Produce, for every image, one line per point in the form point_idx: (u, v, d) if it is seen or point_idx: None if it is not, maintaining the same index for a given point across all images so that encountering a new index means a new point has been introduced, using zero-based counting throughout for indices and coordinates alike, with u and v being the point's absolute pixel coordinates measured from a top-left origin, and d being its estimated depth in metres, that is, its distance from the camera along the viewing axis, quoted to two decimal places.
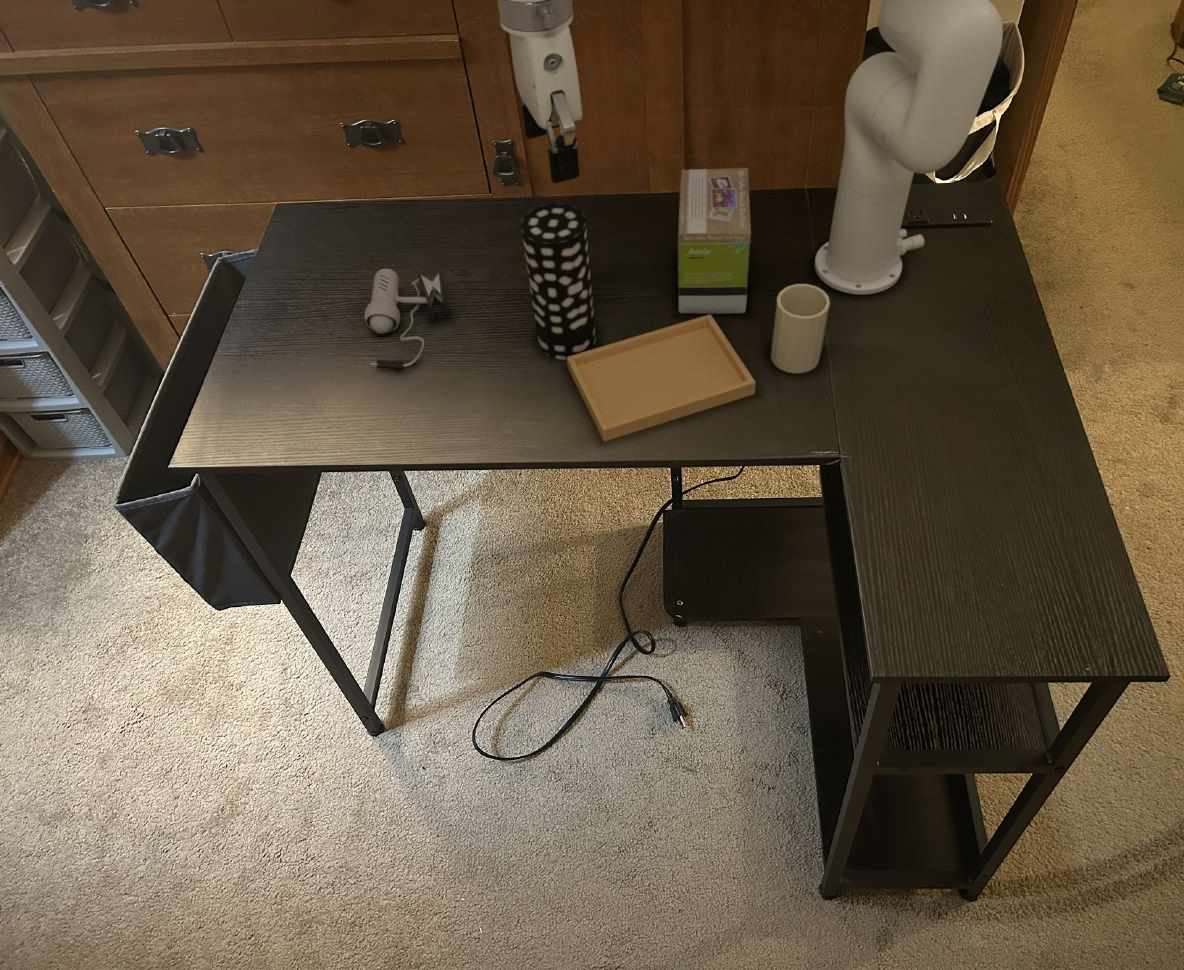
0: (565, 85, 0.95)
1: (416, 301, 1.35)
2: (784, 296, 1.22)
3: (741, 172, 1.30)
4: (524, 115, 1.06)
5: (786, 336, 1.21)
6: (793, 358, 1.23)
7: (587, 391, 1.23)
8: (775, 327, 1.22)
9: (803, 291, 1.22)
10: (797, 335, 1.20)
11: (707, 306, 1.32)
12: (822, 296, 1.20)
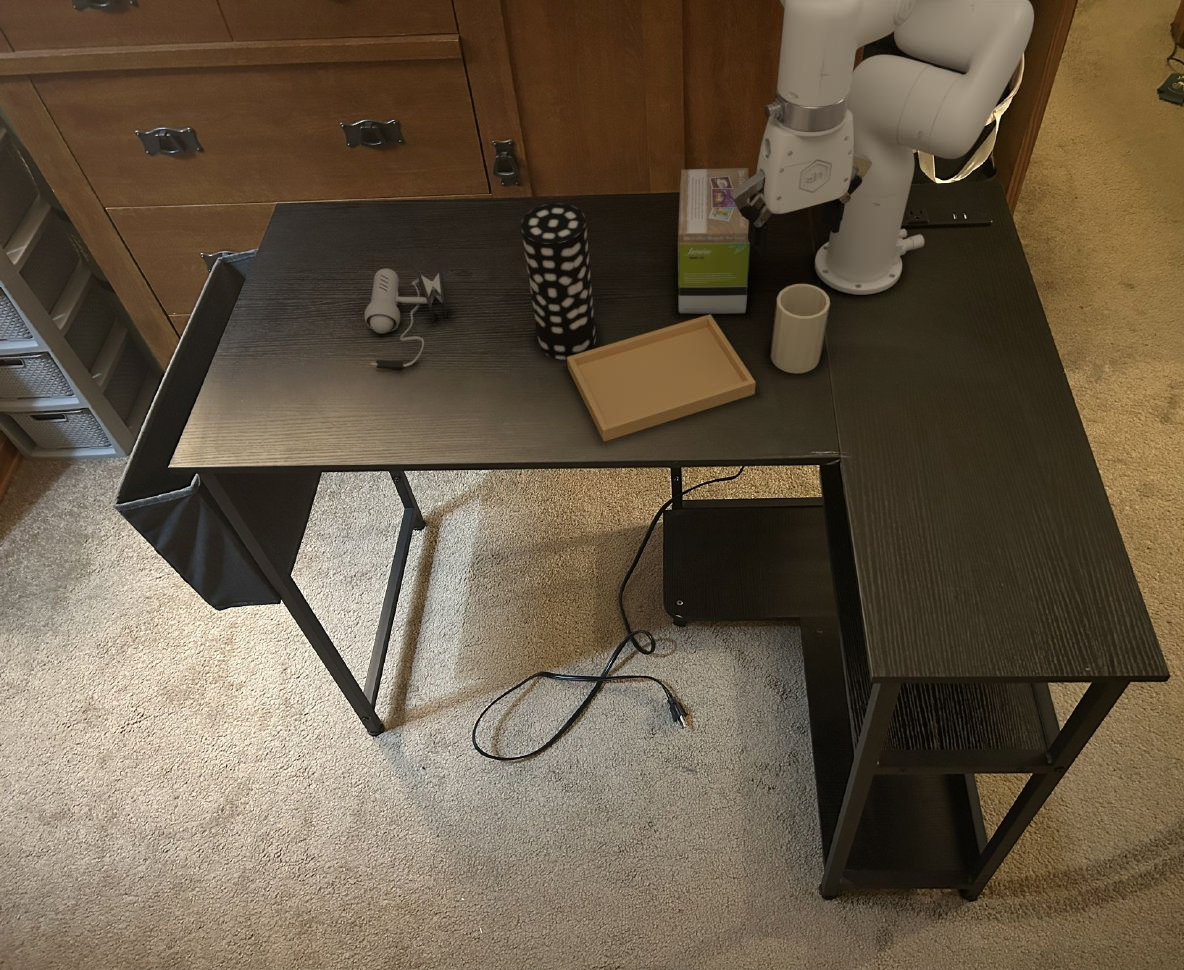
0: (767, 172, 1.02)
1: (416, 301, 1.35)
2: (784, 296, 1.22)
3: (741, 172, 1.30)
4: None
5: (786, 336, 1.21)
6: (793, 358, 1.23)
7: (587, 391, 1.23)
8: (775, 327, 1.22)
9: (803, 291, 1.22)
10: (797, 335, 1.20)
11: (707, 306, 1.32)
12: (822, 296, 1.20)
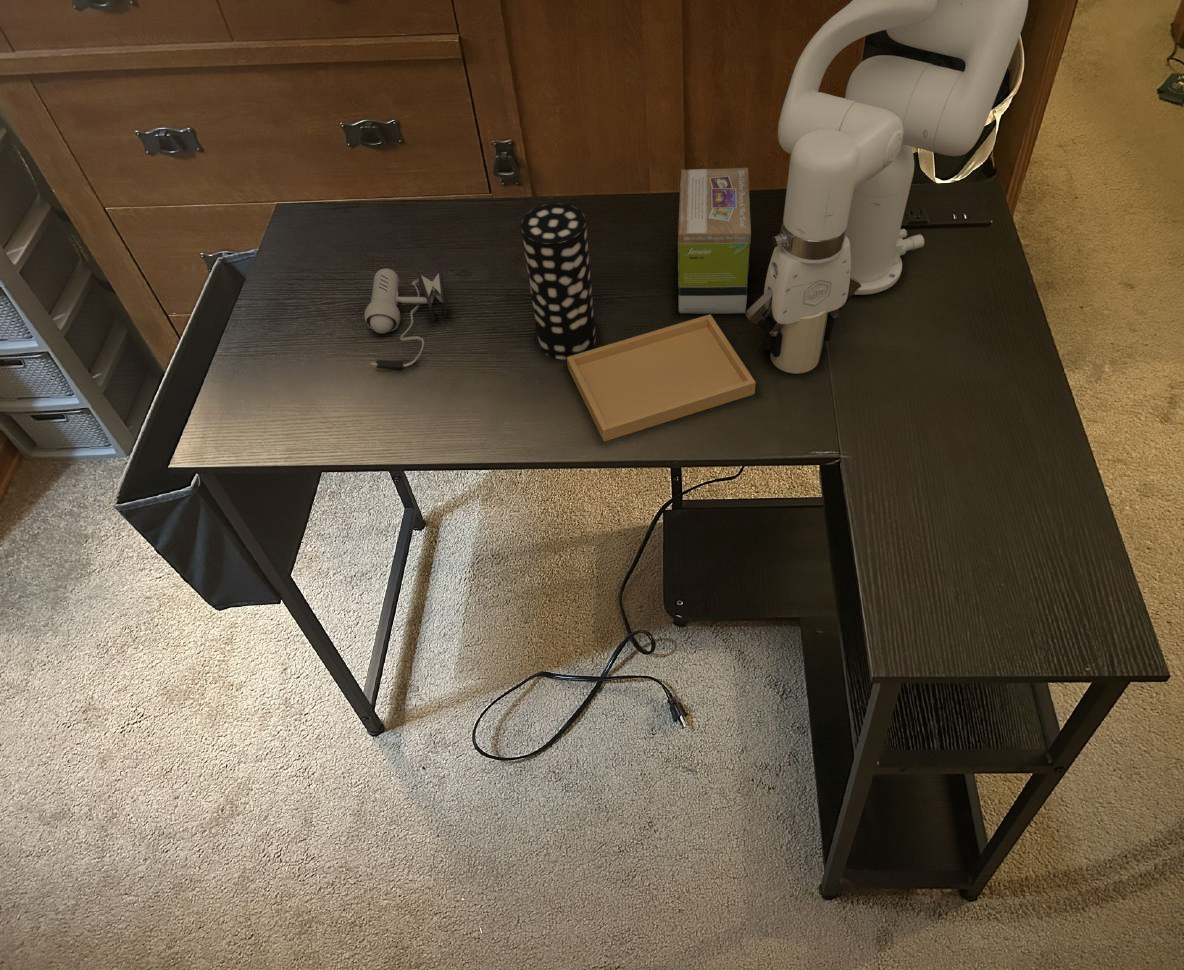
0: (774, 290, 1.15)
1: (416, 301, 1.35)
2: None
3: (741, 172, 1.30)
4: None
5: (785, 336, 1.21)
6: (793, 358, 1.23)
7: (587, 391, 1.23)
8: None
9: None
10: (797, 335, 1.20)
11: (707, 306, 1.32)
12: None
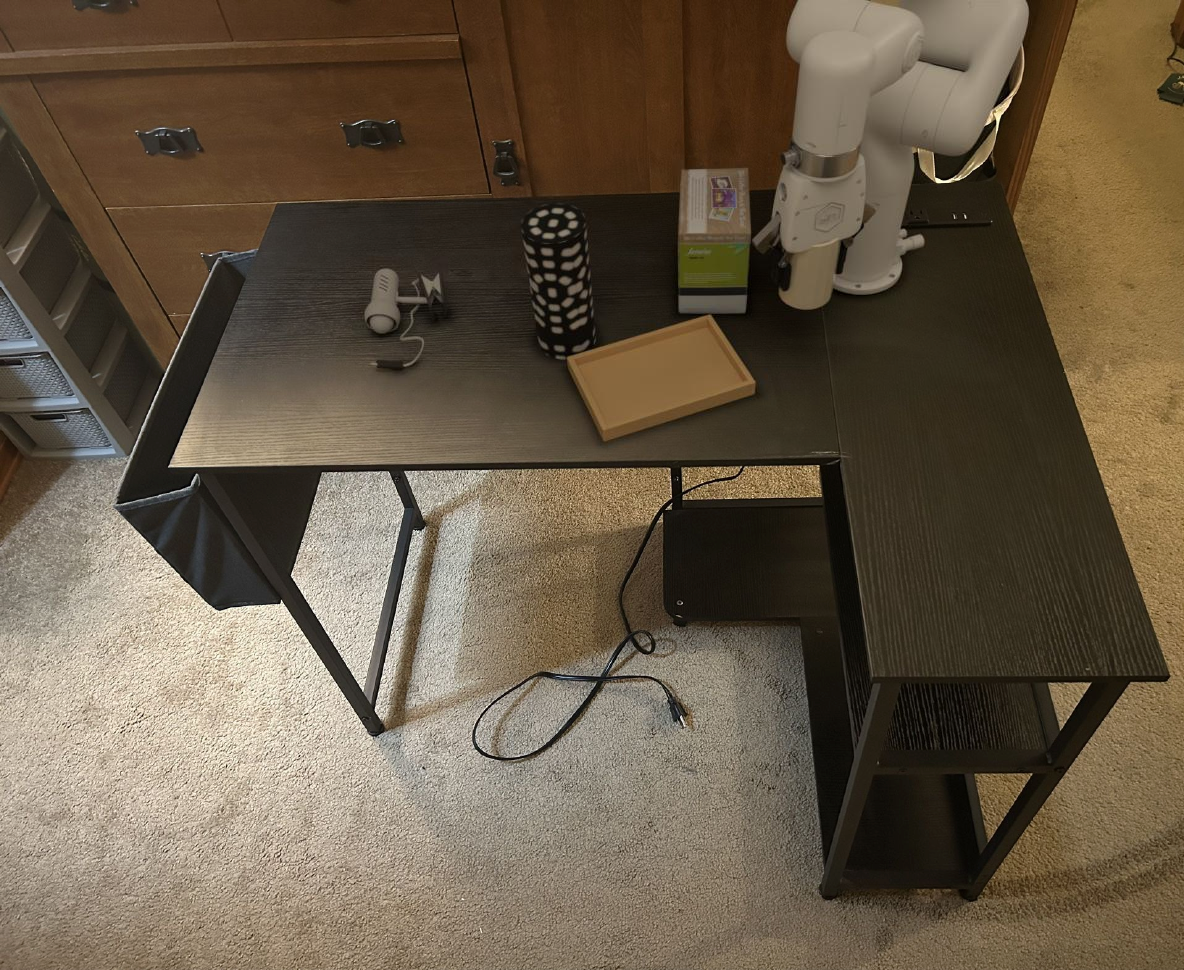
0: (783, 215, 1.06)
1: (416, 301, 1.35)
2: None
3: (741, 172, 1.30)
4: None
5: (795, 267, 1.12)
6: (803, 292, 1.15)
7: (587, 391, 1.23)
8: None
9: None
10: (808, 265, 1.11)
11: (707, 306, 1.32)
12: None
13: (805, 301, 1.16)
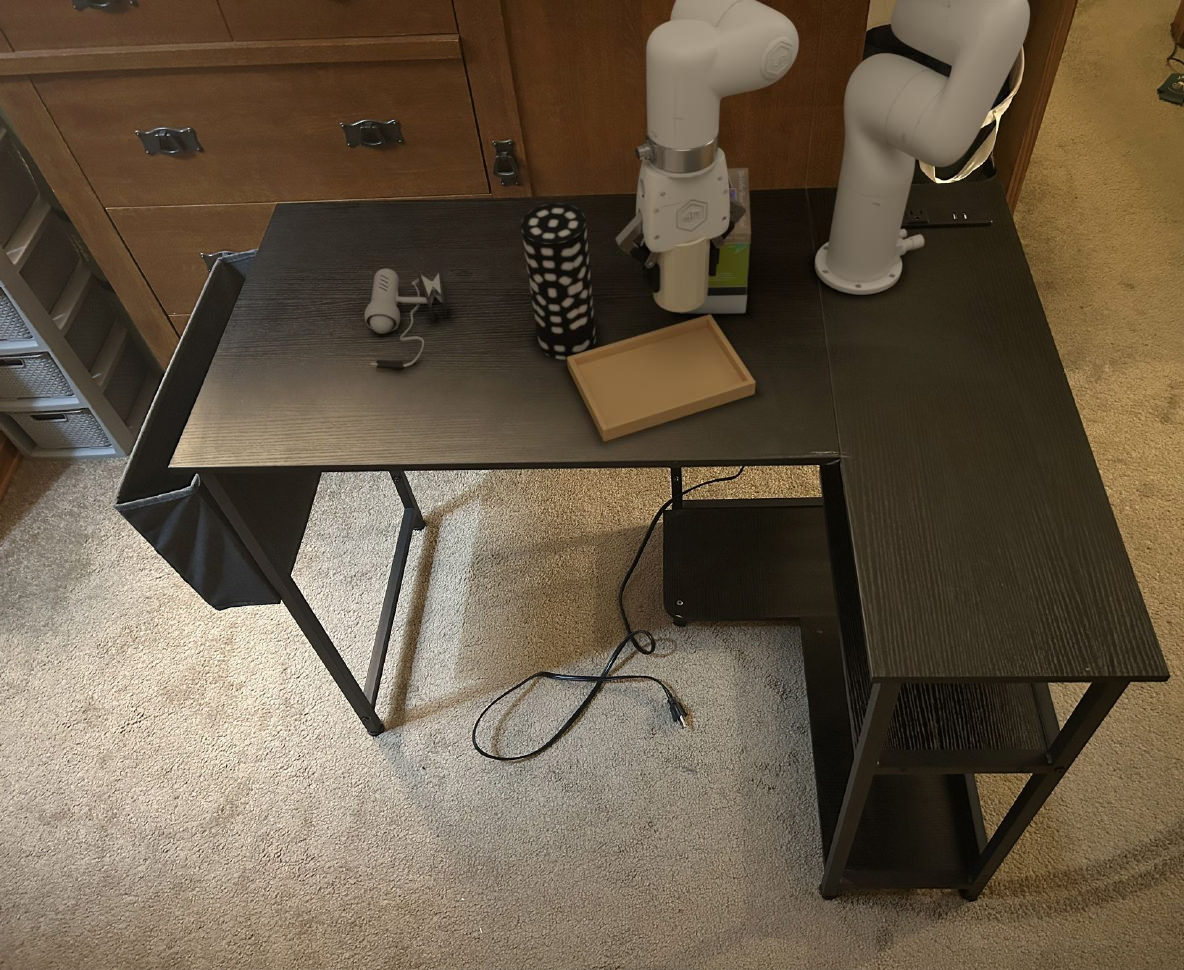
0: (643, 212, 1.02)
1: (416, 301, 1.35)
2: None
3: (741, 172, 1.30)
4: None
5: (663, 268, 1.08)
6: (674, 294, 1.10)
7: (587, 391, 1.23)
8: None
9: None
10: (675, 266, 1.07)
11: (707, 306, 1.32)
12: None
13: (677, 303, 1.12)
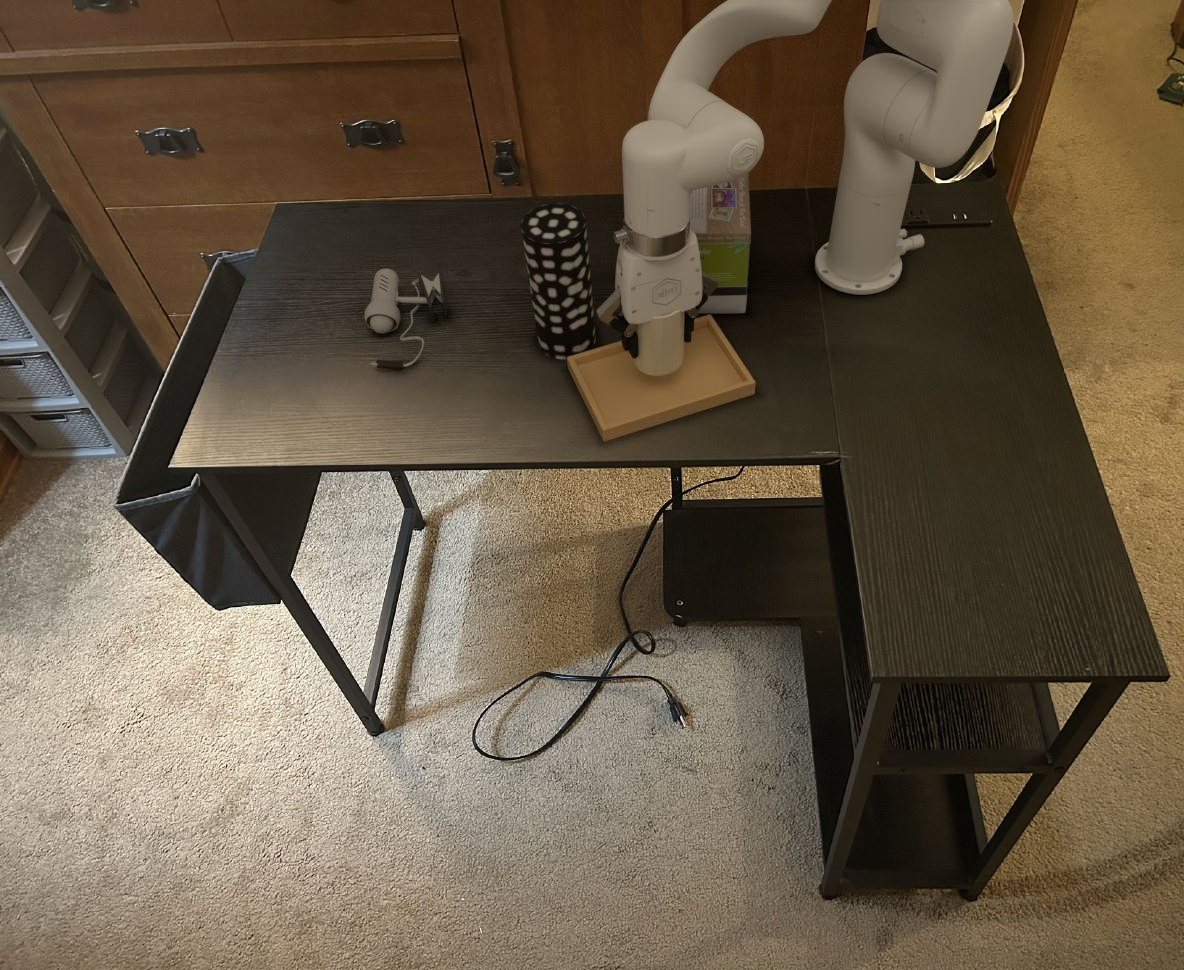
0: (621, 289, 1.10)
1: (416, 301, 1.35)
2: None
3: None
4: None
5: (641, 337, 1.16)
6: (651, 360, 1.18)
7: (587, 391, 1.23)
8: None
9: None
10: (652, 335, 1.15)
11: (707, 306, 1.32)
12: None
13: (654, 368, 1.19)
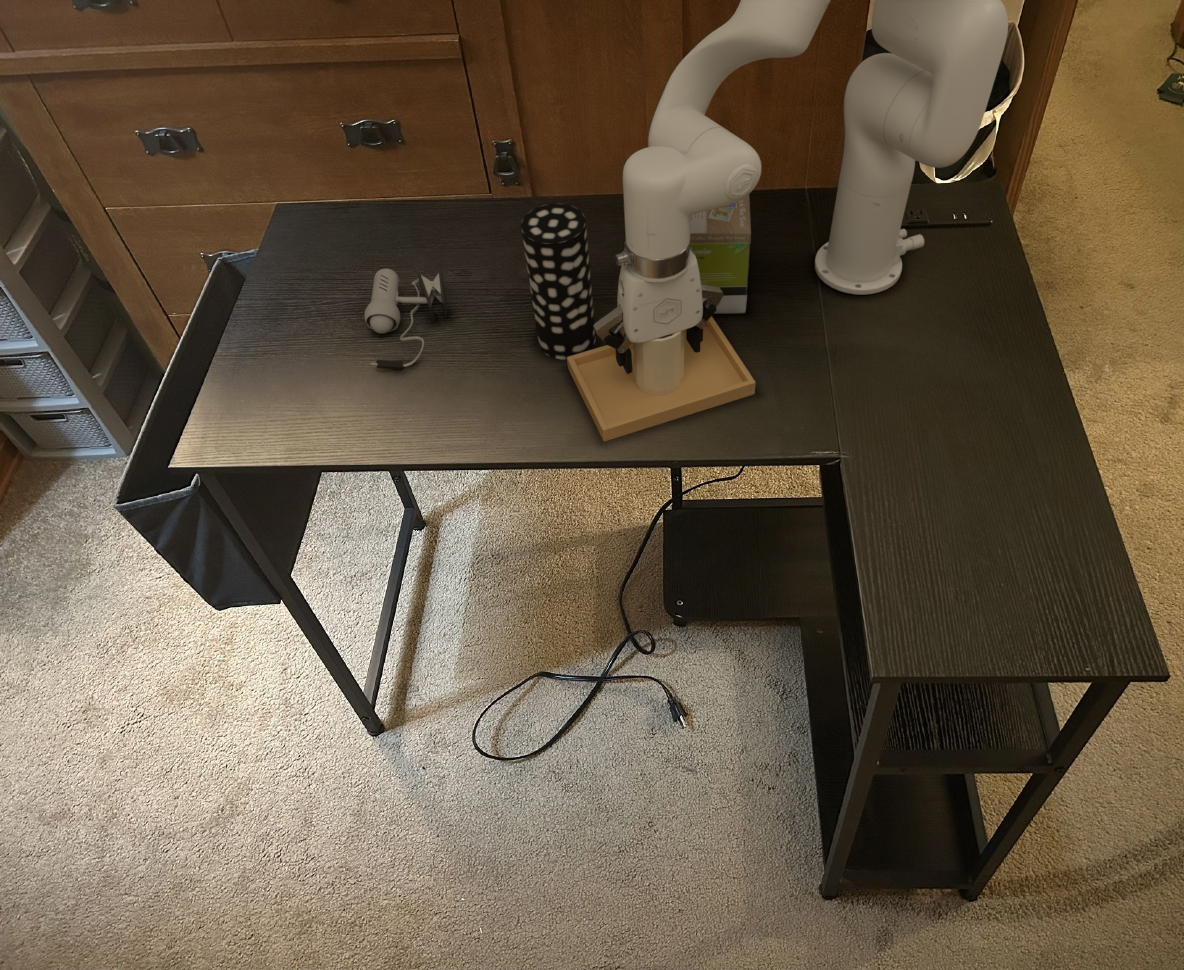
0: (623, 309, 1.13)
1: (416, 301, 1.35)
2: None
3: None
4: None
5: (642, 358, 1.19)
6: (652, 380, 1.21)
7: (587, 391, 1.23)
8: (633, 349, 1.20)
9: None
10: (653, 357, 1.18)
11: None
12: None
13: (655, 388, 1.22)
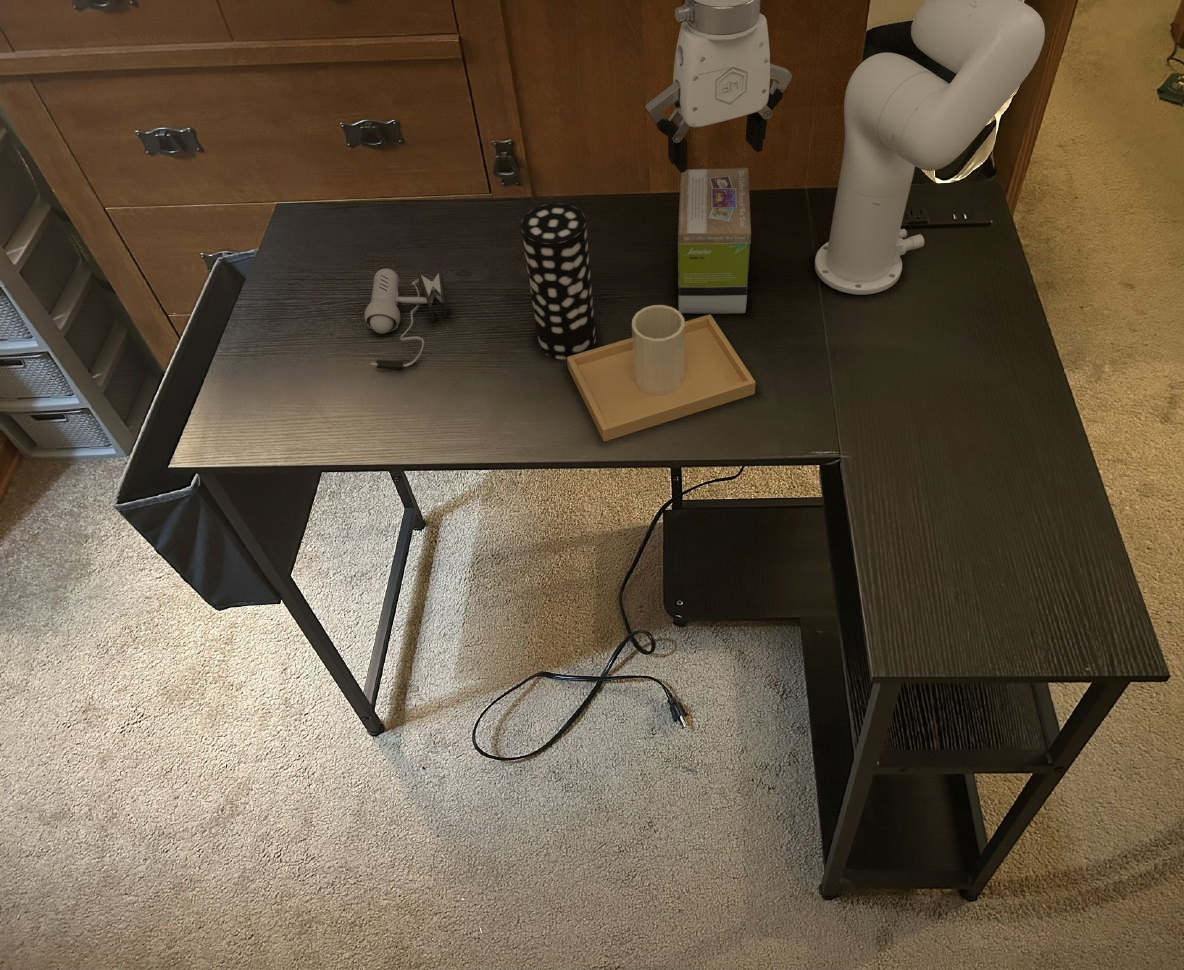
0: (681, 82, 0.99)
1: (416, 301, 1.35)
2: (641, 317, 1.20)
3: (741, 172, 1.30)
4: None
5: (642, 358, 1.19)
6: (652, 380, 1.21)
7: (587, 391, 1.23)
8: (633, 349, 1.20)
9: (661, 312, 1.20)
10: (653, 357, 1.18)
11: (707, 306, 1.32)
12: (678, 317, 1.18)
13: (655, 388, 1.22)
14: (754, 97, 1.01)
